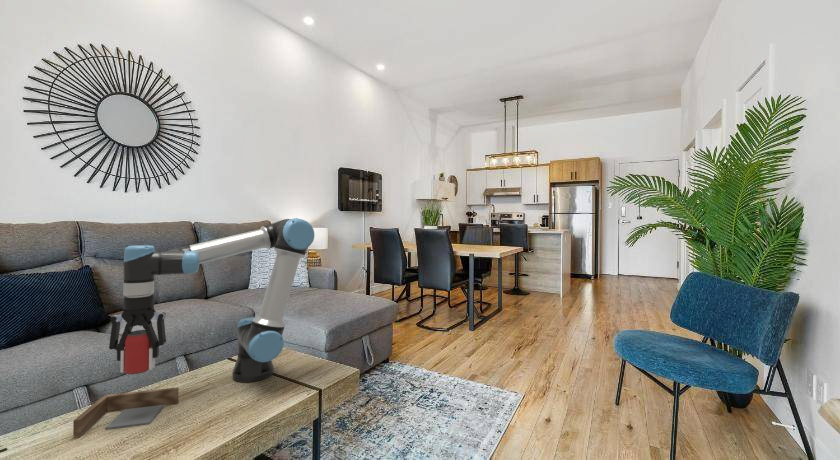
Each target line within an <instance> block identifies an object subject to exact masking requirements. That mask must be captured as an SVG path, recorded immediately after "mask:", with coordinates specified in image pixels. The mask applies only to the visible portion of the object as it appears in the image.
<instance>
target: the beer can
mask: <svg viewBox="0 0 840 460" xmlns="http://www.w3.org/2000/svg"><path fill="white" fill-rule="evenodd" d="M151 347H152V346H151V343H150V341H149V338H148V336H147V333H146V331H145V329H138V330H134V331H133V330H132V331H131V332H130V333H129V334H127V337H126V339H125V347H124V349H125V365H124V372H123V373H125V374H127V375H139V374H142V373H145V372H147V371H150V370H149V349H150V348H151Z"/></svg>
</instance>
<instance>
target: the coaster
mask: <svg viewBox="0 0 840 460" xmlns="http://www.w3.org/2000/svg"><path fill="white" fill-rule="evenodd" d="M163 408H165V405H157V406H149V407H140V408H132V409H124V410H122V411H120V413H118V415H117V416H115V418H113V420H112V421H111V422H109V424H108V425H107V426H106V427H105V431H107V430H115V429H122V428H124V429H125V428H129V427H137V426H145V425H151V424H152V422H153V421H154V420H155V418H156V417H157V416H158V415H159V414H160V412H161V411H162V409H163Z"/></svg>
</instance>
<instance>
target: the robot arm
mask: <svg viewBox="0 0 840 460" xmlns="http://www.w3.org/2000/svg"><path fill="white" fill-rule="evenodd" d="M314 240H315V230H314V227H313V226H312V224H311V223H310V222H308V221H307V220H305V219H302V218H298V217H294V218H284V219H281V220H278V221H276V222H273V223H269V224H267V225H262V226H261V227H260V228H259V229H255V230H250V231H246V232H242V233H237V234H234V235H229V236H225V237H221V238H216V239H213V240H212V239H211V240H208V241H207V240H206V241H203V242H199V243H194V244H190V245H187V246H186V245H185V246H182V247H177V248H176V247H174V248H170V249H167V250H166V251H156V248H155V246H154V245H129V246H126V247H125V248H124V251H123V253H124V256H123V288H122V289H123V293H122V295H123V296H124V297H123V298H122V300H123V302H122V308H123V309H122V310H123V312H122V313H121V314H115V315H113V316H111V317H110V323H111V328H110V329H111V330H110V335H109V337H110V338H109V344H108V345H109V346H108V348H109V350H115V351H116V361H117V362H120V373H125V372H124V365H125V339H126V337H127V334H129V333H130V332H132V331H133V329H134V327H137V326H140V327H143V330H145V331H146V333H147V336H148V338H149V341H150V343H151V346H152V347H151V348H150V349H149V370H148V371H151V370H153V369H154V368H155V367H156V359H157V358H158V357H159V353H160V351H159V350H160V347H161V346H163V345H165V344H166V342H167V335H166V328H165V327H166V325H165V318H166V312H156V310H155V295H154V293H155V276H161V275H162V276H163V275H164V276H165V275H189V274H195V273H197V272H198V271H199V268H200V265H203V264H205V263H209V262H213V261H217V260H220V259H225V258H228V257H232V256H236V255H241V254H244V253H247V252H252V251H255V250H259V249H263V248H266V249H268V250H269V249H273V248H274V251H275V253H276V256H275V258H274V259H275V261H274V262H273V265H272V270H271V273H270V277H269V280H268V284H267V286H266V290H265V293H264V296H263V301H262V302H261V303H262V304H261V306H260V309H259V313H258V316H252V317H251V316H250V317H247V318H246V317H245V318H242V319H240V320H238V322H237V327H236V328H237V356H236V357H237V358H236V361H235V364H234V367H233V370H232V375H231V377H232V380H233V381H235V382H238V383H252V382H258V381H262V380H265V379H268V378H269V377H270V376H272V375H273V374H274V371H275V367H274V366H275V365H274V363H273V360H274V359H276V358H277V357H278V356H279V355H280V354H281V353H282V351H283V349H284V346H285V345H284V344H285V343H284V337H283V334H284V332H285V331H284V330H285V327H286V323H284V322H283V319H284V314H285V313H286V308H287V304H288V302H289V298H290V294H291V291H292V287H293V283H294V280H295V277H296V273H297V270H298V265H299V263H300V260H301V259H302V258H305V257H306V253H307V249H308V248H310V246H311V245H312V244H313V242H314ZM154 317H155V320H156V329H157V335H156V331H155V330H154V326H153V322H152V319H153V318H154ZM123 320H124V322H126V324H125V325H124V329H123V332H122V334H121V337H120V329H121V322H122V321H123Z"/></svg>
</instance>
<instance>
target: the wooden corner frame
mask: <svg viewBox="0 0 840 460" xmlns="http://www.w3.org/2000/svg"><path fill="white" fill-rule="evenodd" d="M179 393H180V390H179V387H178V386H177V387H176V386H175V387H169V388H168V387H167V388H161V389H160V388H158V389H150V390H149V389H148V390H141V391H140V390H139V391H130V392H123V393H122V392H121V393H113V394H106V395H103V396H102V397H100V398H99V399H97V400H96V401H95V402H94V403H93V404H92V405H91V406H88V408H87V409H85V411H83V412H82V413H81V414H79V416H77V417H76V418H75V419H73V427H72V428H73V436H72V437H73V439H77V438H81V437H82V436H83V435H84V434H85V433H87V432H88V431H89V430H90V429H91V428H92V427H93V426H94V425H95V424H96V423H98V422H99V421H100V419H101V418H103V417H104V416H105V415H106V414H107V413H112V412H122V411H123V410H124V409H132V408H140V407H149V406H157V405H164V406H171V405H177V404H178V403H179V402H180V401H179V398H180V397H179Z"/></svg>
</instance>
